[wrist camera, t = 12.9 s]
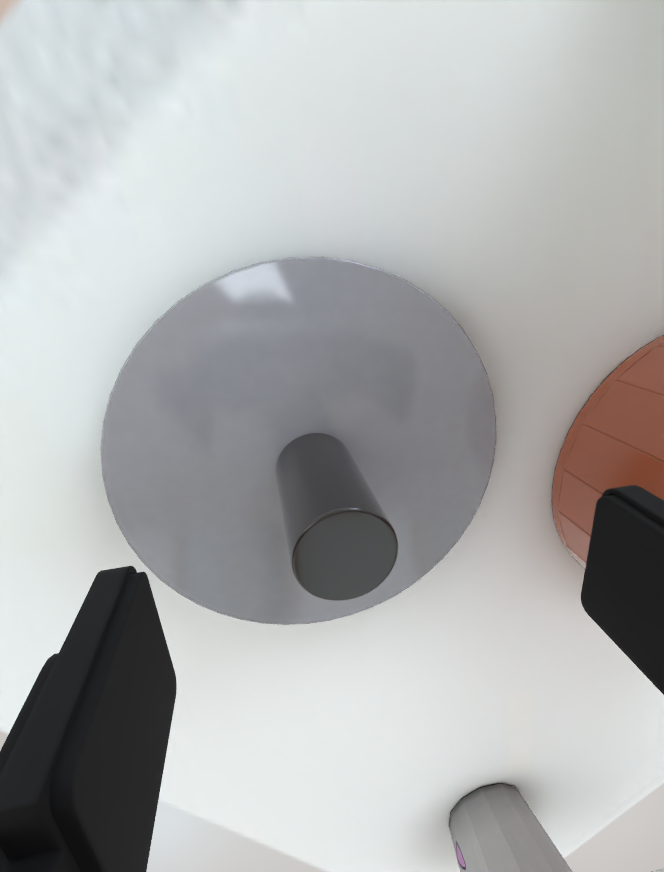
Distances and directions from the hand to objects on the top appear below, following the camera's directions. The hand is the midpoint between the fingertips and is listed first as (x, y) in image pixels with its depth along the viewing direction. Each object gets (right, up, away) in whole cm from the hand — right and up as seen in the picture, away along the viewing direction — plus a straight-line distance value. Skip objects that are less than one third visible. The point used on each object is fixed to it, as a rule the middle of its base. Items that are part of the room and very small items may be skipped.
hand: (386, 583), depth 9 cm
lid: (-2, +2, +6) cm, 7 cm away
